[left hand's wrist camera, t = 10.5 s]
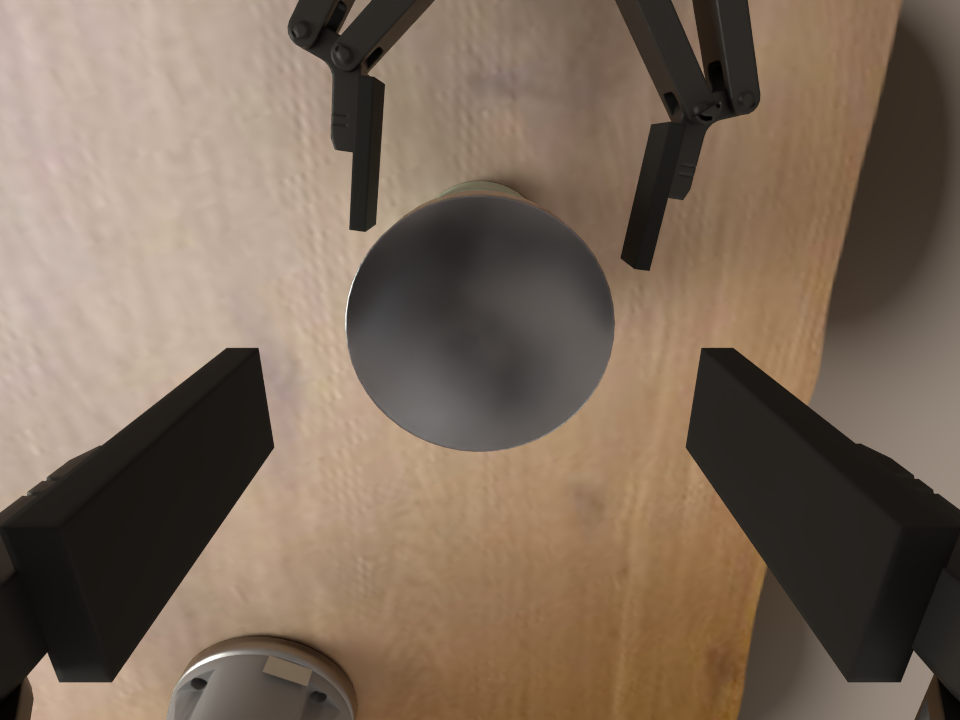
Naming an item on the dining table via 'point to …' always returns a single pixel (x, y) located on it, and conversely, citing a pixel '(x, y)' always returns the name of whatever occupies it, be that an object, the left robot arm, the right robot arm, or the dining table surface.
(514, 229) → the lid
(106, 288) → the dining table surface
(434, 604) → the dining table surface
